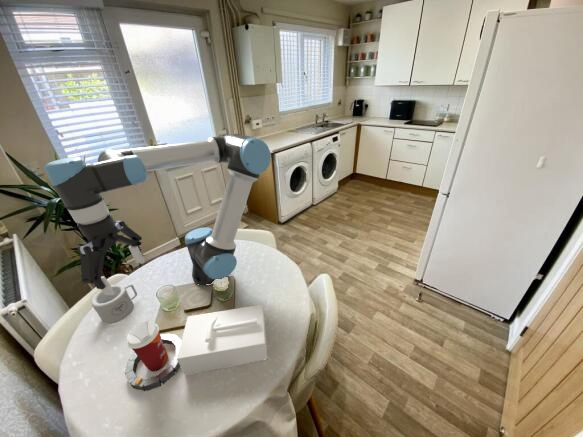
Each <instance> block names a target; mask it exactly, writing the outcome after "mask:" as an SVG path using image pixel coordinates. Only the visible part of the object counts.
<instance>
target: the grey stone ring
mask: <svg viewBox="0 0 583 437" xmlns="http://www.w3.org/2000/svg"><path fill="white" fill-rule="evenodd" d="M160 336H161V338H162V341H163V343H164V345H169V346H170V345H171V346H174V348H175V355H174V357H173V359H172V361H171V362H170V364H169V366H167V367H166V368H165V369H163V370H162V371H161V372H160V373H159V374H156V375H154V376H153V375H152V376H150V377H148V378H142V377H138V376H137V374H136V373H137V370H138V369H137V368H138V365H139V364H140V362H141V360H140V358H139V357H138V356H137V354H136V353H135V352H134V351H133V353H132V354H131V356H130V357H129V358H128V361H127V362H126V366H125V371H124V376H125V378H126V380H127V382H128V383H129V385H130V387H131V388H132V389H133V390H136V391H142V392H148V391H151V390H153V389H156V388H159V387H162V385H163V386H164V385H165V384H166V383H167V382H168V381H170V380H171V379H172V378H173V377H174V376H176V373H178V371H179V370H180V368H181V366H180V364H179V362H178V360H177V356H178V352H179V348H180V345H181V341H182V339H181V338H179V337H178V335H176V334H171V333H162V334H160Z"/></svg>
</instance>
